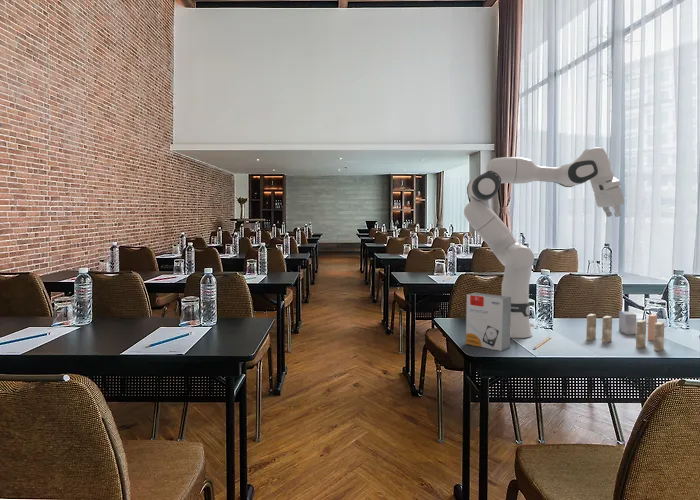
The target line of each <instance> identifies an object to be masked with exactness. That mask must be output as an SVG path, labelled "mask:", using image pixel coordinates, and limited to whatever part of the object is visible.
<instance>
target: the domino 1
mask: <svg viewBox="0 0 700 500" xmlns="http://www.w3.org/2000/svg"><path fill="white" fill-rule="evenodd" d="M585 338H586V340H587V341H593V340H595V339H596V338H597V314H595V313H589V314H588V315H586V337H585Z"/></svg>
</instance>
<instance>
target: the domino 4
mask: <svg viewBox="0 0 700 500" xmlns="http://www.w3.org/2000/svg"><path fill="white" fill-rule="evenodd" d="M647 319H648V320H647V340H648V341H652V342H653V341H654V335H655V323H657V322H658V314H655V313H654V314H653V313H652V314H651V313H650V314H649V315H648V317H647Z"/></svg>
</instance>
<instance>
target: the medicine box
mask: <svg viewBox="0 0 700 500" xmlns="http://www.w3.org/2000/svg"><path fill="white" fill-rule="evenodd" d="M618 314H619V315H618V331H620V332H622V333H623V334H626V335H636V327H637V314H635V313H633V312H631V311H627V310H626V311H618Z"/></svg>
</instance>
